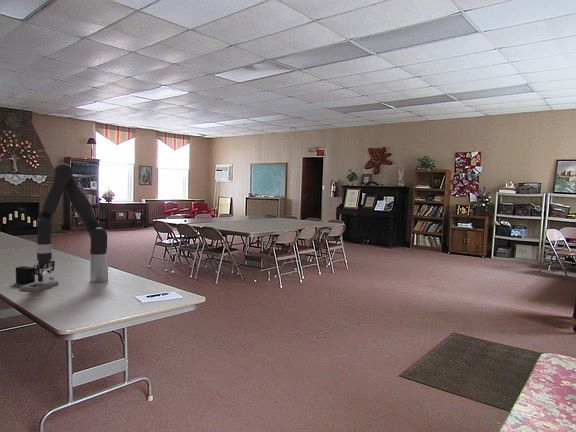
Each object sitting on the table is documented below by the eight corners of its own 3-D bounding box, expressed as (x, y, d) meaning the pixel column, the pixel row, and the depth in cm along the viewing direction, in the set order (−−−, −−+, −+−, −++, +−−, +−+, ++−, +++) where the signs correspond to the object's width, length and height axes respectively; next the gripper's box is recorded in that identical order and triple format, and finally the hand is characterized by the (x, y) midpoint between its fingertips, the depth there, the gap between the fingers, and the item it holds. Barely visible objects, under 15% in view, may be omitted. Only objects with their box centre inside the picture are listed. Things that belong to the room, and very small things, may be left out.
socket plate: (58, 285, 241) (58, 281, 241) (37, 292, 225) (37, 288, 225) (41, 283, 243) (41, 279, 242) (19, 290, 227) (19, 286, 227)
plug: (57, 284, 240) (56, 273, 239) (49, 287, 234) (49, 275, 233) (43, 283, 241) (43, 272, 241) (35, 286, 235) (35, 274, 235)
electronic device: (28, 285, 237) (28, 268, 237) (15, 283, 241) (15, 267, 240) (35, 284, 241) (34, 267, 241) (22, 282, 245) (22, 265, 244)
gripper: (40, 254, 228) (41, 283, 230) (59, 250, 242) (59, 277, 244) (28, 253, 229) (29, 282, 231) (47, 249, 244) (48, 277, 245)
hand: (44, 280), depth 237 cm, fingers closed on plug, 6 cm apart
